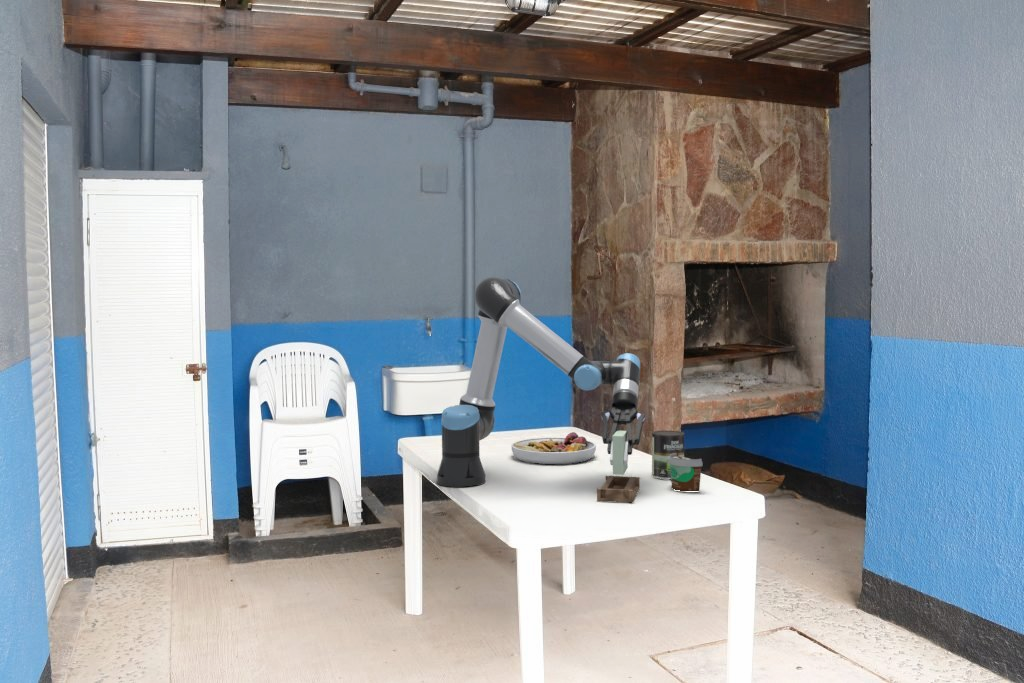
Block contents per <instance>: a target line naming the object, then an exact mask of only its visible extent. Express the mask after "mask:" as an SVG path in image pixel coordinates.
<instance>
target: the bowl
mask: <svg viewBox="0 0 1024 683" xmlns="http://www.w3.org/2000/svg"><path fill="white" fill-rule="evenodd" d="M596 449H597V445H596V443H595V442H592V441H590V440H587V438H586V437H585V436H579V435H578V433H577V432H575V431H574V432H570V433H568V434H567V435H566V437H541V438H540V437H538V438H530V439H522V440H518V441H515V442H513V443H512V444H511V452H512V455H513V456H514V457H515V458H516V459H518V460H519V461H522V462H524V461H525V463H528V462H530V463H529V464H534V463H539V464H538V465H545V464H563V465H572V463H574V464H579V462H580V463H583V461H584V462H586V461H588V460H591V458H592V457H593V456H594V455H595V453H596Z"/></svg>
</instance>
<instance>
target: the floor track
mask: <svg viewBox="0 0 1024 683" xmlns="http://www.w3.org/2000/svg"><path fill="white" fill-rule="evenodd" d="M640 479H641V478H640V477H639V476H624V475H605V482H604V483H603V485H602V486H601V487H597V488H596V502H600V501H616V502H615V503H619V502H633V503H634V501H635V500H636V497H637V495H638V493H639V491H640V489H639V488H641V487H640V484H641V482H640ZM638 490H639V491H638ZM637 492H638V493H637ZM636 494H637V495H636Z"/></svg>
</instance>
